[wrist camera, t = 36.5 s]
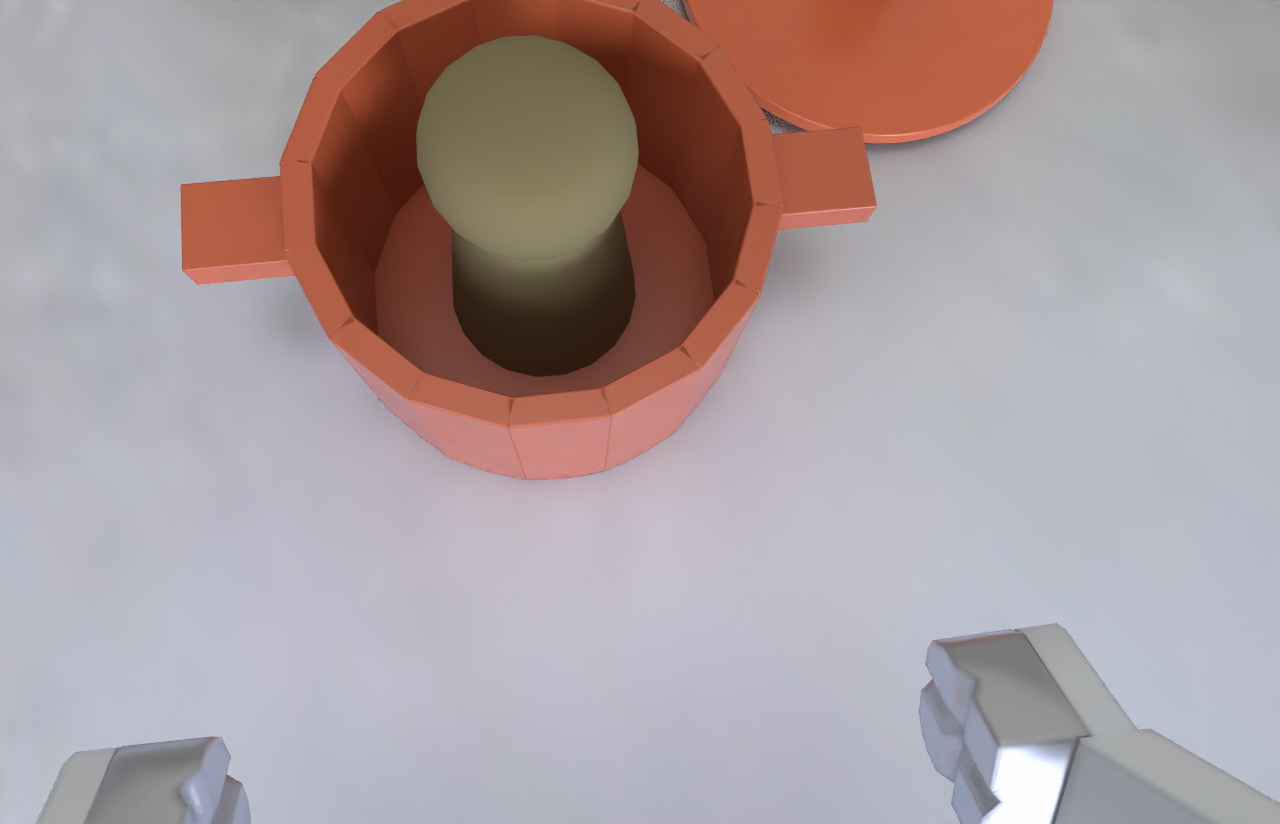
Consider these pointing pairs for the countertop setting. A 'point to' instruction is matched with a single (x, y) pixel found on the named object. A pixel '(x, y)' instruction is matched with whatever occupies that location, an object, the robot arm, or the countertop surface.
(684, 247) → the pot
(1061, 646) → the robot arm
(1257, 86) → the countertop surface
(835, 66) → the pot lid
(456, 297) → the cork
